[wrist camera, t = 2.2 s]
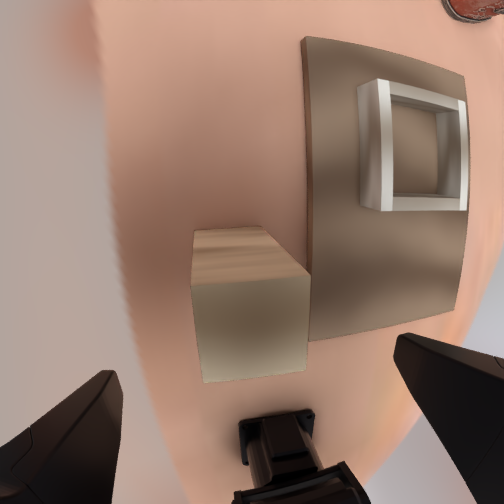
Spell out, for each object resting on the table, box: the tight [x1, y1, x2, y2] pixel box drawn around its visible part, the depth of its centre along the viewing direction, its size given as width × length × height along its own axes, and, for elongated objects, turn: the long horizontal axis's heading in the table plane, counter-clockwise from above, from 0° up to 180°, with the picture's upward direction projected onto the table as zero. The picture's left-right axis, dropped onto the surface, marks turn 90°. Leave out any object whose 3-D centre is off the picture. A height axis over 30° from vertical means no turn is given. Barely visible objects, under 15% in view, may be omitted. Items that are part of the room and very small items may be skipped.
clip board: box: [301, 36, 470, 342], centre depth 18 cm, size 20×14×4 cm
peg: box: [190, 226, 311, 383], centre depth 15 cm, size 4×4×9 cm
